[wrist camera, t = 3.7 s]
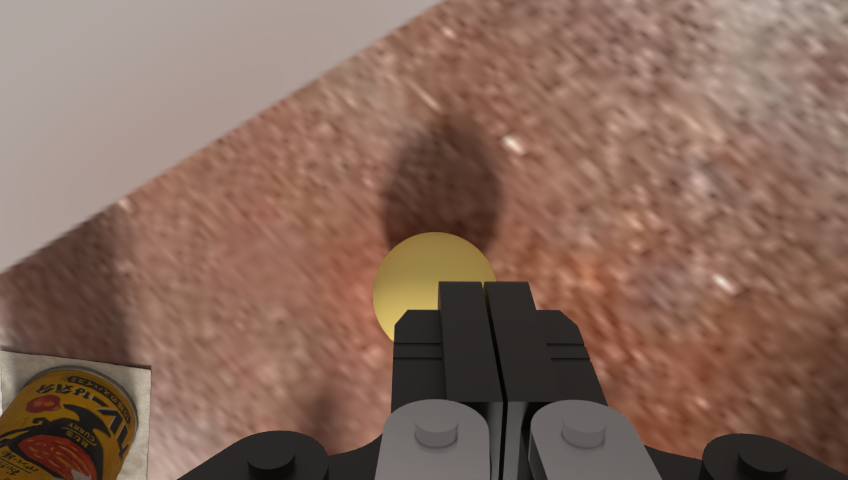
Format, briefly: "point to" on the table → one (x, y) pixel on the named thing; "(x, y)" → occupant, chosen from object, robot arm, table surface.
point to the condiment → (72, 419)
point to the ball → (423, 274)
